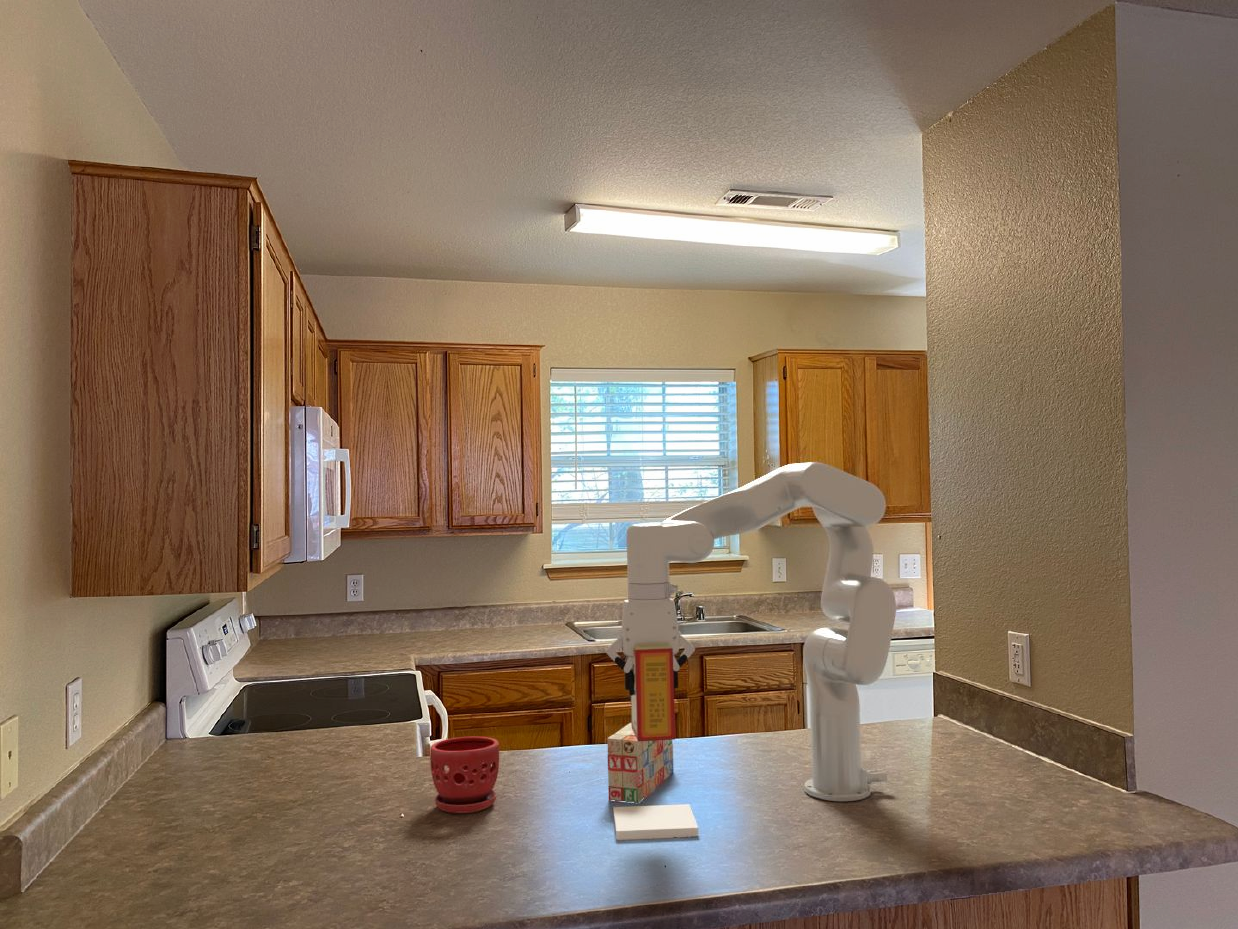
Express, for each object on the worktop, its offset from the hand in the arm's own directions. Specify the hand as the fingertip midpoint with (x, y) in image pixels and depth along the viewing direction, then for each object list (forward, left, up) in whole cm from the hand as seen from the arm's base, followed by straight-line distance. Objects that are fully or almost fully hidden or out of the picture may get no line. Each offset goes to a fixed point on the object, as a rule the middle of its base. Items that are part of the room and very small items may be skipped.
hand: (651, 692), depth 160 cm
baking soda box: (0, 0, -7) cm, 7 cm away
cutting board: (0, 0, -23) cm, 23 cm away
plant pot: (+35, -15, -24) cm, 45 cm away
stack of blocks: (+1, -22, -24) cm, 33 cm away
